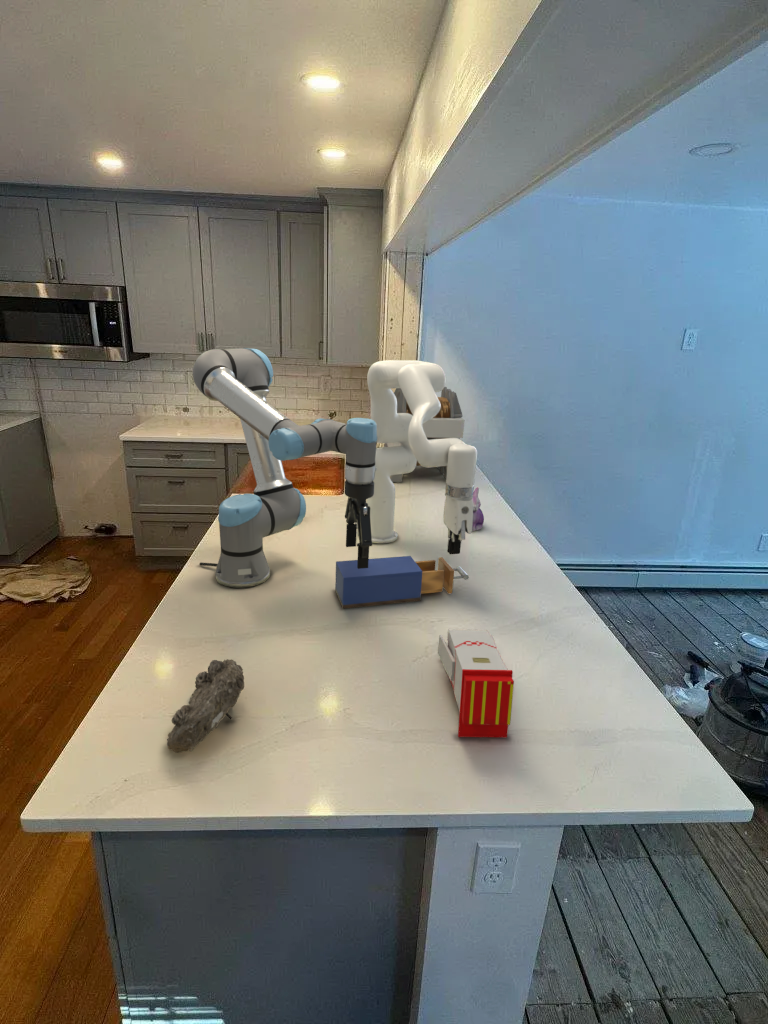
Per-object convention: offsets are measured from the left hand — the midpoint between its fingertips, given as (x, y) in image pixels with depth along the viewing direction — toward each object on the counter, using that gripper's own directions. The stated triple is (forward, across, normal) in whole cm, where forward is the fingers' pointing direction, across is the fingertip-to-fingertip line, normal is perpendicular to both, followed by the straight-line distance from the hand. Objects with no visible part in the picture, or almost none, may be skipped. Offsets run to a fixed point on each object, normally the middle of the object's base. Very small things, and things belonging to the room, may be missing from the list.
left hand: (356, 556), depth 151 cm
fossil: (+12, -41, +37) cm, 57 cm away
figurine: (+12, +44, -54) cm, 71 cm away
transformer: (+13, +115, -59) cm, 130 cm away
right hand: (+1, 0, -28) cm, 28 cm away
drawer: (+11, 0, -19) cm, 22 cm away
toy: (+12, -45, -14) cm, 48 cm away
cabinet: (+12, 0, -6) cm, 14 cm away
